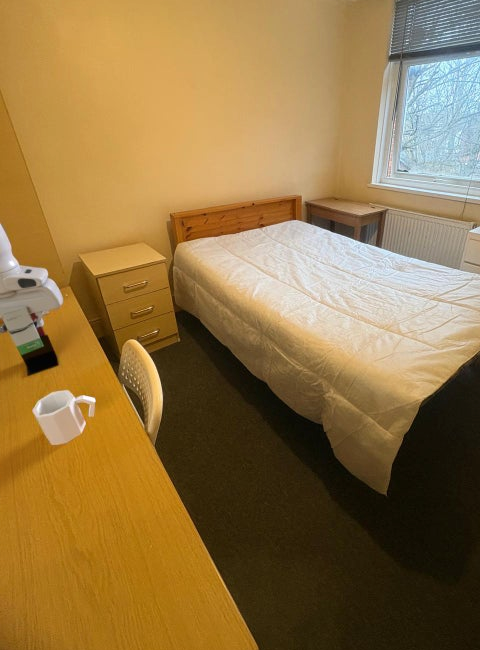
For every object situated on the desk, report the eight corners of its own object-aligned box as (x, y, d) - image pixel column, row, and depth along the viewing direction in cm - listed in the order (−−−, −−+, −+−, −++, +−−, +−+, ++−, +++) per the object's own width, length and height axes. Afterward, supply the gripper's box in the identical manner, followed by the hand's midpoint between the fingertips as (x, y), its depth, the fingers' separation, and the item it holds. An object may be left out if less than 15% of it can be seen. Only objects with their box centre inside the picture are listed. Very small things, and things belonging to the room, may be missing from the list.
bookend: (26, 366, 102) (15, 343, 98) (57, 356, 107) (47, 334, 102) (27, 376, 98) (15, 353, 94) (58, 365, 103) (48, 342, 99)
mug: (46, 451, 76) (31, 423, 72) (47, 426, 83) (33, 398, 78) (103, 427, 82) (92, 400, 78) (100, 405, 89) (89, 379, 84)
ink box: (44, 346, 82) (27, 307, 76) (20, 356, 78) (0, 315, 73) (35, 332, 87) (18, 294, 81) (13, 340, 83) (-7, 301, 78)
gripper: (-68, 293, 67) (-38, 345, 74) (48, 278, 75) (67, 327, 81) (-54, 281, 72) (-26, 331, 79) (54, 268, 80) (71, 314, 86)
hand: (22, 328), depth 80 cm, fingers closed on ink box, 6 cm apart
